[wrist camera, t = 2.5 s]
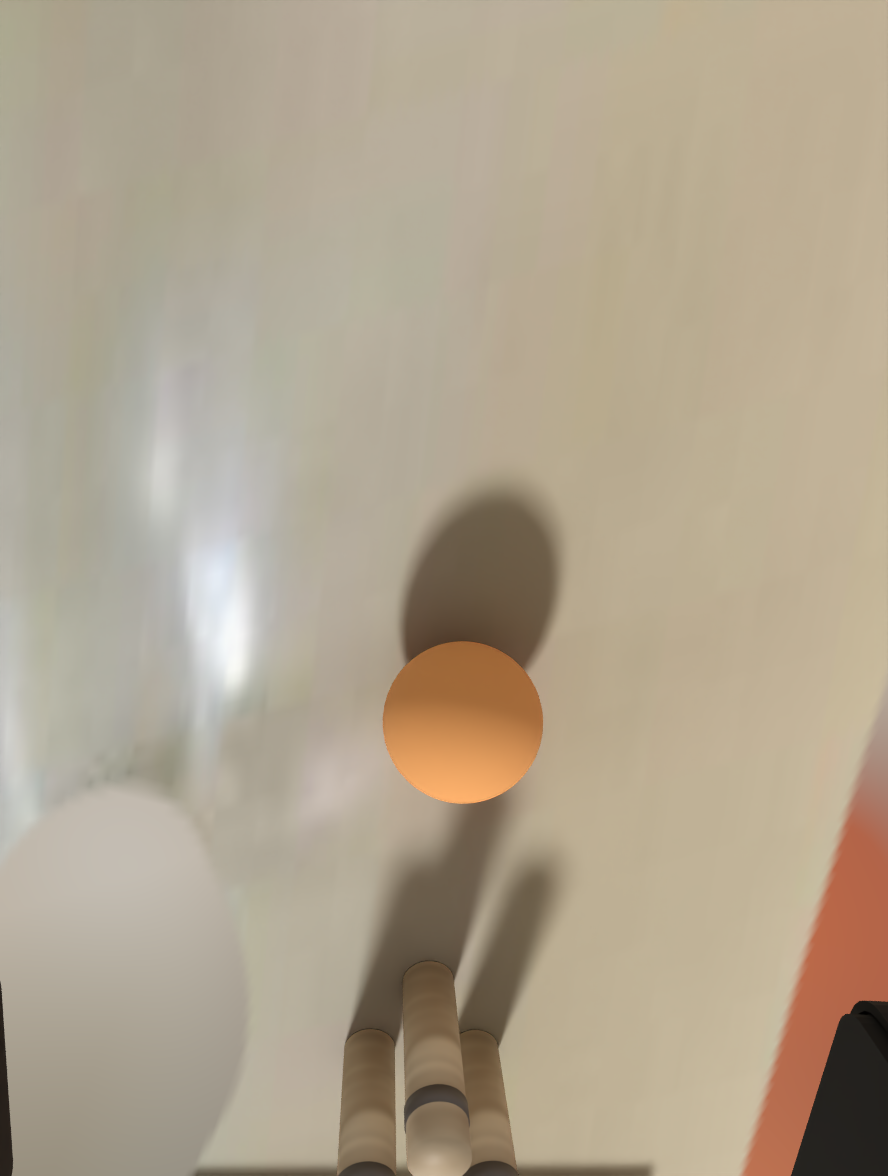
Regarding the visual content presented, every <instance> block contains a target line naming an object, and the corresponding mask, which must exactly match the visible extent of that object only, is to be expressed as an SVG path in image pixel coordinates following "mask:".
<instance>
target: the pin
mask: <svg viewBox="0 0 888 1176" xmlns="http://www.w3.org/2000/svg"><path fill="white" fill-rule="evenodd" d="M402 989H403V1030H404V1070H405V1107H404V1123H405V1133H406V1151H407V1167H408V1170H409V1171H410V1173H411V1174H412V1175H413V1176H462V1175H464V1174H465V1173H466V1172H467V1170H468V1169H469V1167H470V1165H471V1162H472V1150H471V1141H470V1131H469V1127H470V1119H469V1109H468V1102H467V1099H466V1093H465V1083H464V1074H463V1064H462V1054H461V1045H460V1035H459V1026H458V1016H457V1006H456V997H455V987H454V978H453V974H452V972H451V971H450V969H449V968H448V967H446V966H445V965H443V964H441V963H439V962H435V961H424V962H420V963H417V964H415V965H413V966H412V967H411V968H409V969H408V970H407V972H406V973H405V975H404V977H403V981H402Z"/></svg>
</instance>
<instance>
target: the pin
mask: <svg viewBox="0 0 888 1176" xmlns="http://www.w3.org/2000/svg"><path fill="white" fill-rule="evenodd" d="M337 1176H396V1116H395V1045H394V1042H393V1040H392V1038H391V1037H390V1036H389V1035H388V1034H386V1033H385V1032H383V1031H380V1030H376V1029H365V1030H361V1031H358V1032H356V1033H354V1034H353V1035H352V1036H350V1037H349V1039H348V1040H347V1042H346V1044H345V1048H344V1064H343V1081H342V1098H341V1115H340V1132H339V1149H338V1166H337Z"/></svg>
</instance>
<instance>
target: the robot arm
mask: <svg viewBox="0 0 888 1176" xmlns="http://www.w3.org/2000/svg"><path fill="white" fill-rule="evenodd" d="M12 1169H13V1156H12V1140H11V1126H10V1112H9V1096H8V1082H7V1066H6V1051H5V1038H4V1021H3V1006H2V991H1V983H0V1176H11V1175H12ZM791 1176H888V1002H881V1001H859V1002H858V1003H856V1004H855V1005H854V1007H853V1009H852V1011H851V1013H850V1014H845V1015H844V1016H842V1018H841V1019H840V1021H839V1024H838V1027H837V1030H836V1034H835V1037H834V1040H833V1043H832V1046H831V1050H830V1053H829V1056H828V1059H827V1063H826V1066H825V1069H824V1072H823V1075H822V1078H821V1082H820V1085H819V1088H818V1091H817V1094H816V1098H815V1101H814V1104H813V1107H812V1110H811V1114H810V1117H809V1120H808V1123H807V1126H806V1130H805V1133H804V1136H803V1139H802V1142H801V1146H800V1149H799V1152H798V1156H797V1159H796V1162H795V1165H794V1168H793V1171H792V1174H791Z"/></svg>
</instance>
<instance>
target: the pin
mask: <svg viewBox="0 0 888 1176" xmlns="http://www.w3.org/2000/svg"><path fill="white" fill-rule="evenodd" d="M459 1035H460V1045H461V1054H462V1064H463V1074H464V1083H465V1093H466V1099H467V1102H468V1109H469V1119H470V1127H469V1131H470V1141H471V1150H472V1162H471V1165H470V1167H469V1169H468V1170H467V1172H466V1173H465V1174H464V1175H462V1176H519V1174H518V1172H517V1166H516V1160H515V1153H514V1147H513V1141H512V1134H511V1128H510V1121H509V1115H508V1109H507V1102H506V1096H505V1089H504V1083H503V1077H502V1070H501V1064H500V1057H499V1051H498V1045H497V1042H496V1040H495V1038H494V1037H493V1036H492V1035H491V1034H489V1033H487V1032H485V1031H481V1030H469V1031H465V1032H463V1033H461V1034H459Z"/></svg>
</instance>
